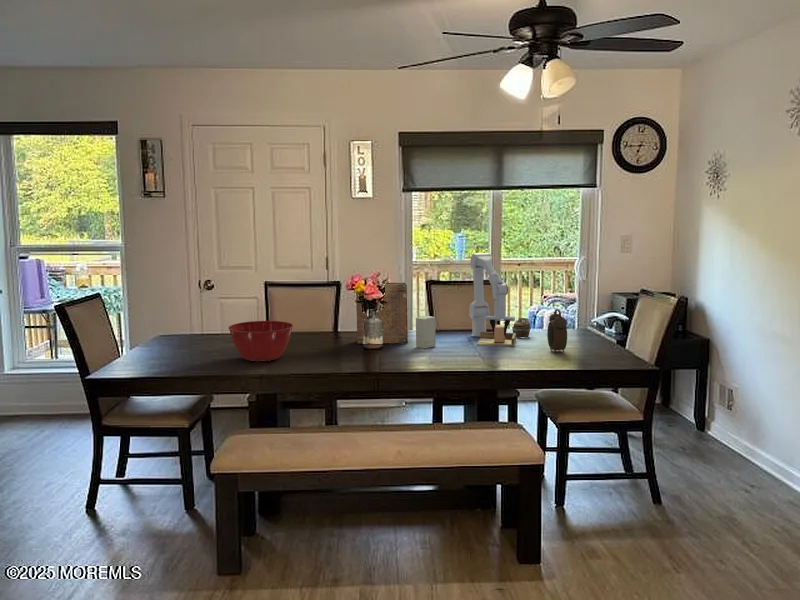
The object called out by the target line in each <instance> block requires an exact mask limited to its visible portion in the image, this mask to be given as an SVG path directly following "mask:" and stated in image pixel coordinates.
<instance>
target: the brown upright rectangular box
mask: <svg viewBox="0 0 800 600" xmlns="http://www.w3.org/2000/svg"><path fill="white" fill-rule="evenodd" d="M385 283H386V284H385V285H384V287H385V296H384V298H383V300H384V301H386V302H387V304H385V305H384V308H382V310H380V311H378V312H377V317H378V318H379V319H380V320H382V329H383V340H384V343H407V344H408V343H409V341H408V340H409V337H408V332H409V331H408V288H407V287H408V285H407V284H406V282H385ZM355 296H356V297H355V301H356V343H357V345H358V344H361V343H362V339H363V323H364V319H365V318H366V317H367V313H362V306H361V304H359V303H357V301H358V299H359V296H358V294H357V293H356V292H355Z"/></svg>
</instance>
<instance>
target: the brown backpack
mask: <svg viewBox="0 0 800 600" xmlns="http://www.w3.org/2000/svg"><path fill="white" fill-rule="evenodd" d="M548 317H549V318H548V325H547V344H548V346H549V349H550V350H551V351H554V354H557V353H556V352H557V351H562V353H563V354H565V349H566V347H567V344H568V329H567V323H568V322H567V320H566V318H565V317H563V316H562V312H561V310H560V309H559V308H556V309H554V312H553V313H552V314H550V315H549V316H548Z"/></svg>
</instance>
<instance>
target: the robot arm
mask: <svg viewBox="0 0 800 600" xmlns="http://www.w3.org/2000/svg"><path fill="white" fill-rule="evenodd" d="M492 263H493V256H492V254H491V253H490V252H487V253H486V252H483V253H472V254H471V257H470V269H471V270H472V273H473V294H474V295H473V298H474V300H473V302H471V303H470V304H469V310H468V315H469V317H470V319H471V320H472V321H471V322H472V323H471V324H472V327H471V329H472V332H471V333H472V334H471V335H470V337H479V338H480V332H487V321H489V324H490V326H491V329H492V332H493V333H494V328H495V326H496V321H499V322H504V324H503V325H504V336H506V333H507V331H508V327H509V325H510V322H516V320H515V319H516V318H515V316H507V313H506V312H507V295H508V293H509V286H508V284H507V283H505V282H503V280H502V278H501V276H500V274H499V273H498V272H496V270H495V268H494V266H493V264H492ZM484 270H485V272H486V274H487V275H488V278H487V281H488V282H489V283H490V285H491V288H492V289H491V292H492V297H493V303H494V304H493V306H494V307H493V308H494V309H493V315H490V314H491V313H490V307H489V303H488V302H486V301H485V292H484V291H485V290H484V273H483V272H484Z"/></svg>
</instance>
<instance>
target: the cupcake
mask: <svg viewBox="0 0 800 600" xmlns="http://www.w3.org/2000/svg"><path fill="white" fill-rule="evenodd" d="M511 328H512V333H516V337H528V336H529V337H530V332H531V328H532V326H531V322H530V319H529V318H526V317H518V319H517V320H515V321H514V323H513V326H512V327H511ZM529 337H528V338H529Z"/></svg>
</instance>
